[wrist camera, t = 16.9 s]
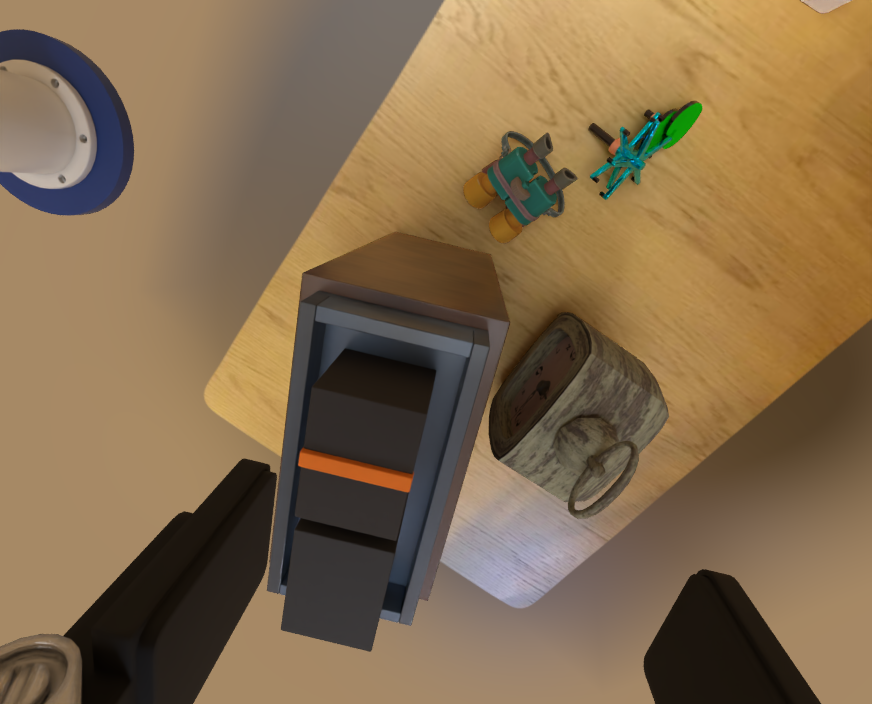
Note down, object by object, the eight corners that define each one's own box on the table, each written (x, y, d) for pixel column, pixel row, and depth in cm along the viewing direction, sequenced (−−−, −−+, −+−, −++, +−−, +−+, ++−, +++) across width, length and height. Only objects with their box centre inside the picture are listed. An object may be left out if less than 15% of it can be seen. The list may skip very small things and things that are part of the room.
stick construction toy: (601, 218, 44) (614, 162, 37) (556, 177, 47) (560, 118, 40) (696, 149, 44) (727, 81, 37) (645, 112, 47) (665, 42, 40)
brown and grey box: (366, 389, 56) (250, 596, 27) (395, 231, 49) (281, 281, 20) (450, 409, 56) (423, 638, 27) (491, 254, 49) (514, 337, 20)
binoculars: (490, 150, 47) (445, 182, 41) (559, 88, 40) (519, 114, 34) (539, 221, 49) (504, 262, 43) (613, 173, 42) (585, 213, 36)
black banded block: (326, 457, 25) (290, 521, 20) (343, 347, 23) (307, 389, 18) (411, 478, 25) (396, 546, 20) (437, 370, 23) (427, 417, 18)
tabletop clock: (560, 295, 50) (638, 384, 26) (622, 338, 51) (750, 462, 27) (486, 389, 54) (494, 538, 31) (544, 427, 55) (595, 598, 32)
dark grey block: (312, 557, 28) (280, 630, 23) (327, 468, 26) (294, 529, 21) (388, 576, 28) (371, 652, 23) (409, 488, 26) (395, 553, 21)
